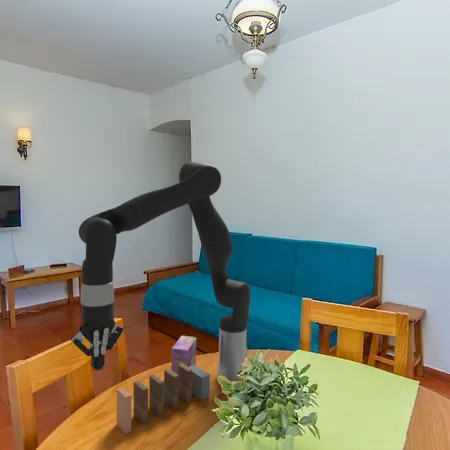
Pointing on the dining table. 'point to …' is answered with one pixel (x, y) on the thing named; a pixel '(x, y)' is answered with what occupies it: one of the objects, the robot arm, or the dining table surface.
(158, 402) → the domino
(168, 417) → the dining table surface
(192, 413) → the dining table surface
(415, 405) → the dining table surface
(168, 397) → the domino
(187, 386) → the domino
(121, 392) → the domino end
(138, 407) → the domino
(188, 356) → the box
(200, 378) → the block
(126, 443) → the dining table surface
